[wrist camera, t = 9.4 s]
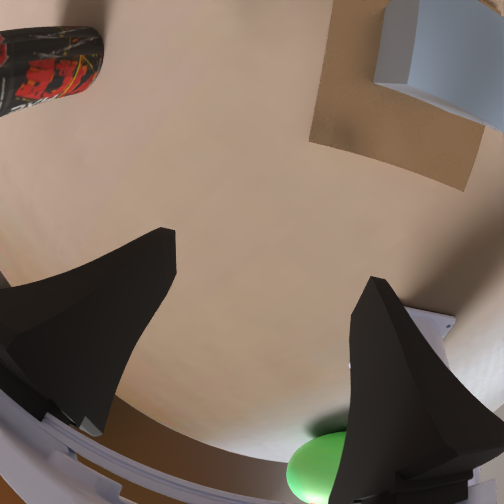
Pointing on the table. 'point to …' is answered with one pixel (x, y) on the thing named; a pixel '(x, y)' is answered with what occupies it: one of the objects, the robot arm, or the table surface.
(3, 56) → the deodorant
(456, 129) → the wooden board
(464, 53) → the pale blue cuboid
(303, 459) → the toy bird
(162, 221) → the table surface
